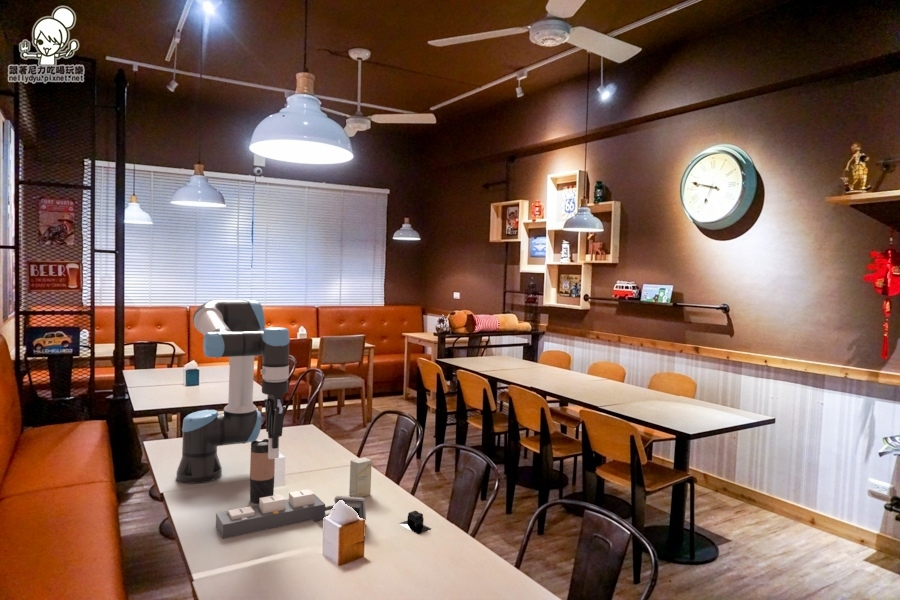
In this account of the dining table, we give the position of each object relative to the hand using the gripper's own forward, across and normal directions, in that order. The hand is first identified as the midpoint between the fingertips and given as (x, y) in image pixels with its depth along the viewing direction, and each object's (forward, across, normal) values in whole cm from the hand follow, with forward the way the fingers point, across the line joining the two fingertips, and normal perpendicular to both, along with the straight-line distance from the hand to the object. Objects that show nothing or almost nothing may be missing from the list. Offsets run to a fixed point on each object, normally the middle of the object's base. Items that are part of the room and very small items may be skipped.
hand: (273, 457), depth 173 cm
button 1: (+19, 0, -9) cm, 21 cm away
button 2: (+17, 0, 0) cm, 17 cm away
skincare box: (+21, -9, +33) cm, 40 cm away
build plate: (+21, +22, +37) cm, 48 cm away
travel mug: (+21, -18, +2) cm, 27 cm away
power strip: (+20, 0, +3) cm, 21 cm away
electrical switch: (+21, +12, +20) cm, 31 cm away
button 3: (+17, 0, +9) cm, 20 cm away
